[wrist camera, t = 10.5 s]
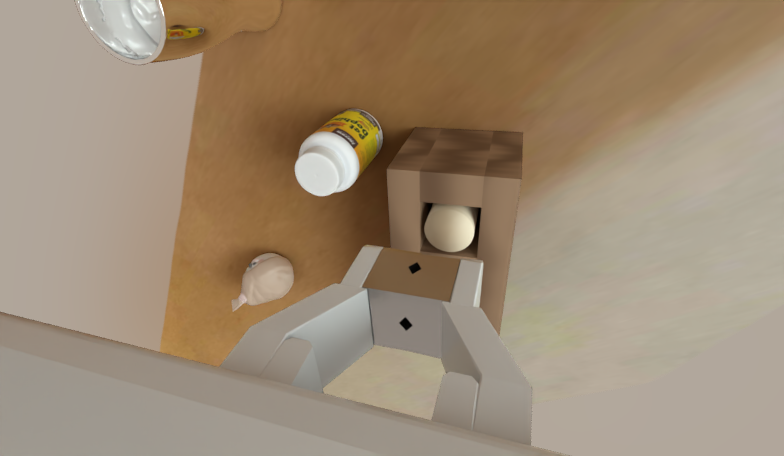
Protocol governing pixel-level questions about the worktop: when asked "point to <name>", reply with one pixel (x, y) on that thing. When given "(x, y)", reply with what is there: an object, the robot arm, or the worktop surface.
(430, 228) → the peg
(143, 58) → the beer glass
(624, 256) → the worktop surface
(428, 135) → the block
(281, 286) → the garlic bulb
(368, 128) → the supplement bottle
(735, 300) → the worktop surface
